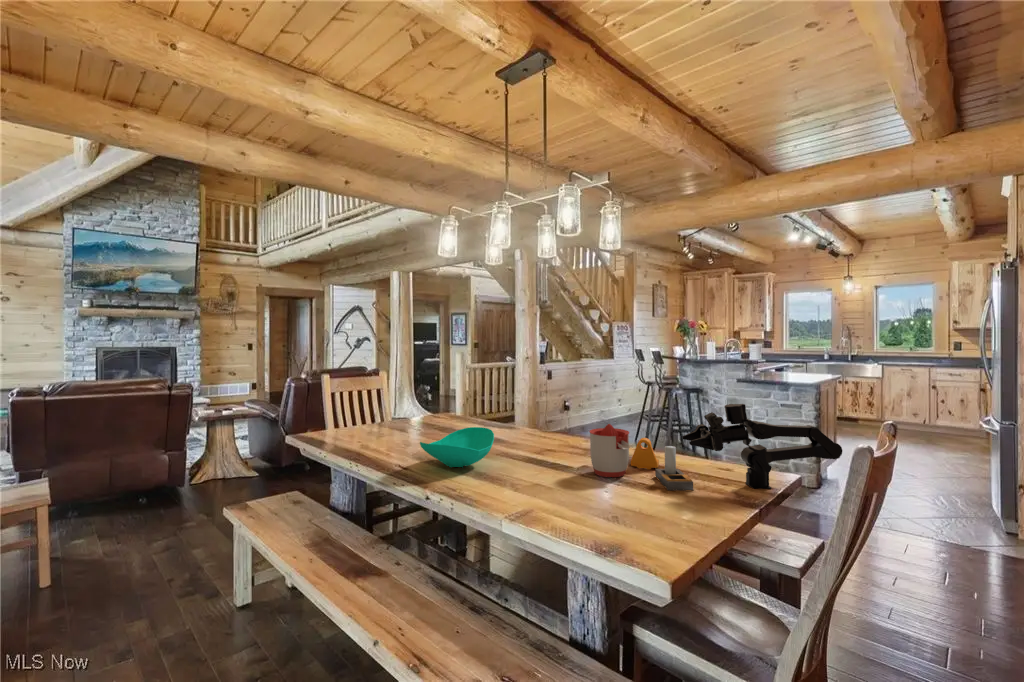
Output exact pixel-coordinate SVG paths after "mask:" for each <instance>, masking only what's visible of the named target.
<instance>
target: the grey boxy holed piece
mask: <svg viewBox="0 0 1024 682" xmlns="http://www.w3.org/2000/svg"><path fill="white" fill-rule="evenodd" d="M654 470H655V471H654V472H655V476H656V477H657V478H658V479H659V480H660V481H659V480H658V479H657V478H656V479H657V480H658V481H659V482H660V483H661V484H662V485H663V487H664V486H665V487H666V488H667V489H666V488H665V487H664V488H665V489H666V490H667V491H686V490H693V491H694V481H693V480H692V478H690V477H689V476H688V475H687V474H685V473H684V472H682V470H680V469H679V468H676V474H665V468H655V469H654ZM655 476H654V477H655Z"/></svg>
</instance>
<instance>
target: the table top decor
mask: <svg viewBox="0 0 1024 682" xmlns="http://www.w3.org/2000/svg"><path fill="white" fill-rule="evenodd" d="M494 441H495V433H494V431H493V430H492V429H491V428H488V427H481V426H480V427H478V426H477V427H476V426H475V427H474V426H473V427H472V426H470V427H465V428H462V429H457V430H456V431H453V432H451V433H449V434H446V436H444V437H442V438H441V439H438V440H436V441H433V442H430V443H426V442H422V441H420V442H419V445H420V447H421V449H422V450H423V451H424V452H426V453H427V454H428V455H429V456H431V457H433V458H434V459H436V460H437V461H439V462H440V463H442V464H444V465H445V466H447V467H448V466H449V467H448V468H452V467H462V468H464V467H463V466H466V467H468V466H471V465H474V464H476V463H478V462H480V461H481V460H482V459H484V458H485V457H486V456H487V455H488V454H489V453H490V451H491V449H492V447H493V444H494Z"/></svg>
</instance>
